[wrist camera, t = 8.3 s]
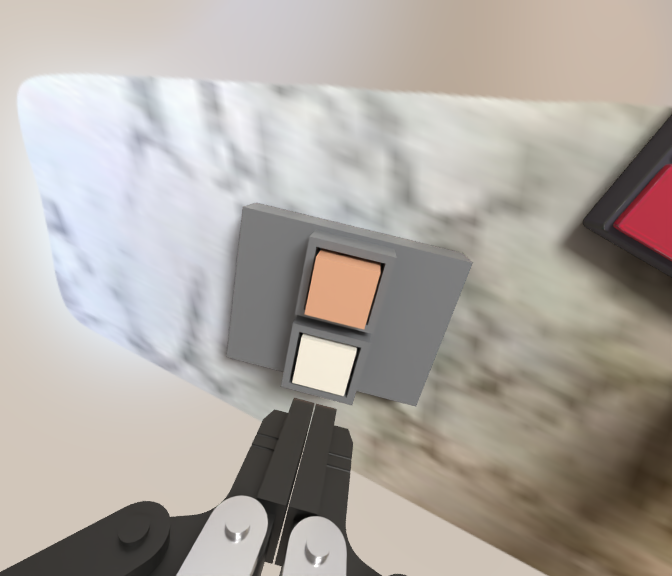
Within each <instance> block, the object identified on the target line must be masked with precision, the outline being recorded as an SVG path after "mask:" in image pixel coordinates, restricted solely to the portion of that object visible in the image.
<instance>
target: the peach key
mask: <svg viewBox="0 0 672 576" xmlns="http://www.w3.org/2000/svg"><path fill="white" fill-rule="evenodd" d="M380 273H381V271H380V262H377V261H373V260H369V259H365V258H361V257H357V256H353V255H348V254H344V253H340V252H336V251H332V250H328V249H324V248H322V249H321V250H320V252H319V253H318V255H317V256H316V260H315V265H314V270H313V275H312V280H311V285H310V290H309V295H308V299H307V304H306V309H305V315H309V316H313V317H317V318H320V319H324V320H328V321H332V322H336V323H340V324H344V325H348V326H352V327H356V328H360V329H365V325H366V322H367V318H368V315H369V311H370V308H371V304H372V301H373V297H374V294H375V290H376V287H377V283H378V280H379V276H380Z"/></svg>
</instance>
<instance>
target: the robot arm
mask: <svg viewBox="0 0 672 576" xmlns="http://www.w3.org/2000/svg"><path fill="white" fill-rule="evenodd" d="M313 407H314V403H312V402H308V401H304V400H300V399H297V398H294V399H293V402H292V404H291V407H290V410H289V413H286V412H282V411H278V410H274V411H272V412H271V413H270V414H269V415H268V416H267V417H265V418H264V419H263V421H262V423H261V426H260V428H259V430H258V432H257V435H256V436H255V439H254V441H253V443H252V446H251V447H250V450H249V451H248V454H247V456H246V458H245V460H244V462H243V465H242V467H241V469H240V471H239V473H238V475H237V478H236V480H235V482H234V484H233V486H232V488H231V490H230V492H229V494H228V495H227V497H226V498H225V499H224V500H223V501H222V502H221V503H220V504H219V505H218V506H217V507H215V508H213V509H211V510H210V511H207V512H205V513H202V514H198V515H189V516H176V517H170V516H169V513H168V512H167V510H166V509H165V508H164V507H163V506H162V505H160V504H158V503H155V502H151V501H143V502H137V503H134V504H131V505H129V506H127V507H124V508H123V509H120V510H119V511H117V512H115V513H113V514H111V515H109V516H107V517H105V518H103V519H101V520H99V521H97V522H96V523H94V524H92V525H90V526H88V527H86V528H84V529H82V530H80V531H78V532H76V533H74V534H73V535H71V536H69V537H67V538H65V539H63V540H61V541H59V542H57V543H55V544H53V545H51V546H50V547H48V548H46V549H44V550H42V551H40V552H38V553H36V554H34V555H32V556H30V557H28V558H27V559H24V560H23V561H21V562H19V563H17V564H15V565H13V566H11V567H9V568H7V569H5V570H3V571H1V572H0V576H261V572H262V569H263V566H264V562H268V563H273V559H274V555H275V551H276V548H277V544H278V540H279V537H280V533H281V529H282V526H283V522H284V518H285V514H286V511H287V507H288V504H289V500H290V496H291V492H292V489H293V485H294V481H295V478H296V474H297V470H298V467H299V470H298V474H297V478H296V481H295V485H294V489H293V492H292V496H291V500H290V504H289V507H288V511H287V516H286V520H285V524H284V528H283V532H282V536H281V541H280V544H279V549H278V553H277V557H276V561H275V564H276V565H279V566H282V567H281V571H280V575H279V576H382V575H380V574H379V573H377V572H376V571H375V570H373V569H372V568H370V567H369V566H367V565H366V564H365V563H364V562H363V561H362V560H361V559H359V557H358V556H357V555H356V554H355V552H354V551H353V549H352V547H351V546H350V543H349V541H348V538H347V534H346V512H347V501H348V491H349V479H350V470H351V459H352V449H353V442H352V439H351V436H350V433H349V430H348V429H346V428H342V427H338V426H334V421H335V416H336V409H334V408H331V407H327V406H323V405H319V404H316V406H315V410H314V414H313V418H312V421H311V425H310V429H309V433H308V436H307V432H308V428H309V424H310V420H311V416H312V412H313ZM306 436H307V440H306ZM305 440H306V444H305ZM304 444H305V447H304ZM303 448H304V451H303ZM302 452H303V455H302ZM301 455H302V459H301ZM300 459H301V462H300ZM299 463H300V466H299ZM390 576H406V575H402V574H393V575H390Z"/></svg>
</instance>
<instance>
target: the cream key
mask: <svg viewBox="0 0 672 576" xmlns="http://www.w3.org/2000/svg"><path fill="white" fill-rule="evenodd" d="M356 351H357V347H356V346H353V345H349V344H345V343H341V342H337V341H333V340H329V339H325V338H321V337H317V336H313V335H309V334H306V333H303V335H302V338H301V343H300V347H299V352H298V357H297V362H296V367H295V372H294V377H293V381H292V383H295V384H299V385H303V386H307V387H310V388H314V389H318V390H322V391H326V392H330V393H333V394H337V395H341V396H344V394H345V390H346V387H347V383H348V380H349V376H350V373H351V369H352V366H353V362H354V359H355V355H356Z"/></svg>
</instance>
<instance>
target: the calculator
mask: <svg viewBox="0 0 672 576" xmlns="http://www.w3.org/2000/svg"><path fill="white" fill-rule="evenodd" d="M583 225H584V226H585V227H587V228H588V229H590V230H592V231H593V232H595V233H597V234H598V235H600V236H602V237H603V238H605V239H607V240H608V241H610V242H612V243H614V244H615V245H617V246H619V247H620V248H622V249H624V250H625V251H627V252H629V253H631V254H632V255H634V256H636V257H637V258H639V259H641V260H643V261H644V262H646V263H648V264H650V265H651V266H653V267H655V268H656V269H658V270H660V271H662V272H663V273H665V274H667V275H668V276H670V277H672V115H671V116H670V117H669V118H668V120H667V121H666V122H665V123H664V124H663V126H662V127H661V128H660V129H659V130H658V132H657V133H656V134H655V135H654V136H653V137H652V139H651V140H650V141H649V142H648V143H647V145H646V146H645V147H644V148H643V149H642V151H641V152H640V153H639V154H638V155H637V156H636V158H635V159H634V160H633V161H632V162H631V164H630V165H629V166H628V167H627V168H626V170H625V171H624V172H623V173H622V174H621V175H620V177H619V178H618V179H617V180H616V181H615V183H614V184H613V185H612V186H611V187H610V189H609V190H608V191H607V192H606V193H605V195H604V196H603V197H602V198H601V199H600V200H599V202H598V203H597V204H596V205H595V206H594V208H593V209H592V210H591V211H590V212H589V214H588V215H587V216H586V217H585V219H584V220H583Z"/></svg>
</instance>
